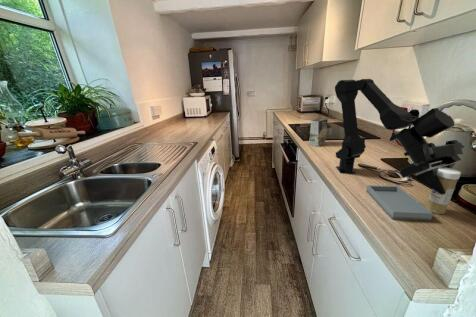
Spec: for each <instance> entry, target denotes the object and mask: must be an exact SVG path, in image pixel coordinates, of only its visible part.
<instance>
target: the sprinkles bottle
mask: <svg viewBox="0 0 476 317" xmlns="http://www.w3.org/2000/svg"><path fill="white" fill-rule="evenodd" d="M461 174H462V172H461V171H460V170H457V169H455V168H452V169H451V168H439V169H438V171H437V177H438V179H439V181H440V182H441V184H442V186H443V188H444V190H445V192H446V193H445V194H440V193H438V192H437V191H435V190H434V189H432V188H431V190H430V193H429V196H428V200H427V203H426V205H425V208H427V209H428V210H429V211H431V212H432V213H433V214H437V215H443V214H446V212H447V208H448V206H449V204H450V202H451V199H452V197H453V193H454V191H455V190H454V189H456V186H457V182H458V181H459V179H460V177H461Z"/></svg>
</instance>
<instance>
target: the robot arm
mask: <svg viewBox="0 0 476 317" xmlns="http://www.w3.org/2000/svg"><path fill="white" fill-rule="evenodd" d="M334 91H335V96H336V97H337V98H336V99H337V100H338V101H339V102H340V105H341V112H342V122H343V123H342V124H343V131H344V138H343V140H342V142H341V148H340V149H339V150H337V151H336V152H335V158H337V159H339V165H337V166H335V168H336V169H337V170H338V171H339V173H340V174H357V171H356V170H355V169H354V165H355V159H357V158H358V159H359V158H360V157H361V156H362V155H363V154H364V153H365V149H366V148H367V147H366V139H365V138H364V137H362V138H361V136H360V135H359V129H358V121H357V112H356V110H357V109H356V98H357V96H358V94H359V91H360V93H361V94H362V95H363V96H365V98H366V99H367V100H368V102H370V104H371V105H372V106H373V107H374V108H375V110H376V111H377V112H378V114H379V120H380V122H381V124H382V125H383V127H384V129H385V130H388V131H395V130H400V129H401V130H400V131H399V132H398V131H395V132H392V133H391V136H390V138H389V141H390V142H392V141H398V142H399V144H400V145H401V146H402V148H403V150H404V151H405V152H404V153H403V155H404V156H405V157H407V156H409V158H410V160H411V161H412V162H413V163H410V164H408V165H406V166H403V167H401V168H400V169H399V170H398V173H399V175H400V176H401V178H402V179H405V178H408V177H411V178H412V179H415V180H417V181H418V182H421V183H422V184H424V185H426V186H428V187H429V188H430V189H431V190H432V189H434V190H435V191H437V192H438V193H440V194H445V193H446V192H445V190H444V188H443V186H442V184H441V182H440V181H439V179H438V177H437V171H438V169H439V168H451V169H454V166H455V165H456V163H457V162H460V161H462V158H460V156H459V155H463V153H464V152H463V150H462V149H464V148H465V145H463V143H462V142H460V141H459V140H457V139H452V140H447V141H445V144H443V145H435V143H434V142H428V141H427V140H426V139H425V137H426V138H433V137H435V136H436V135H438V134H441V133H444V132H445V131H447V130H449V129H451V128H453V127H454V126H455V121H454V119H453V117H452V116H451V115H448V114H447V113H446V112H444V111H442V110H440V109H439V108H438V107H435V108H431V109H430V110H428V111H427V112H426V113H424V114H423V115H421V116H414V115H412V113H411V112H410V111H408V110H407V109H405V108H403V107H402V106H399V105H397V104H395V103H394V102H393V101H392V100H391V99H390V98H389V97H388V96H387V95H386V94H385V93H384V92H383V91H382V90H381V88H379V87H378V85H377V84H376V83H375V81H374V80H373V79H372V78H361V79H358V80H356V79H341V80H338V82H337V83H336V85H335V86H334ZM410 126H411V127H410ZM408 127H410V128H408ZM455 190H457V189H456V188H455V189H454V191H455Z"/></svg>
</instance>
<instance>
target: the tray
mask: <svg viewBox="0 0 476 317" xmlns="http://www.w3.org/2000/svg"><path fill="white" fill-rule="evenodd" d="M365 192H366V193H367V194H368V196H370V197H371V199H372V200H374V202H375V203H376V204H377V205H378V206H379V208H380V209H381V210H383V211H384V212H385V213H386V215H387V216H388V217H389V218H390V219H391V220H403V221H406V220H407V221H421V222H422V221H426V222H431V220H432V218H433V216H434V213H433V212H431V211H429V210H428V209H427V208H426V206H424V205H423V204H421V203H420V202H419V201H417V200H416V199H415V198H414V197H412V195H410V194H409V193H408V192H407V191H405V190H403V189H402V188H401V187H400V186H398V185H366V190H365Z"/></svg>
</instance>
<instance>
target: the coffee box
mask: <svg viewBox="0 0 476 317" xmlns="http://www.w3.org/2000/svg"><path fill="white" fill-rule="evenodd" d="M327 127H328V119H325V118H316V119H311V120H310V130H309V141H308V145H310V146H313V147H320V146H322V145H324V144H325V143H326V136H327V129H328V128H327Z"/></svg>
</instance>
